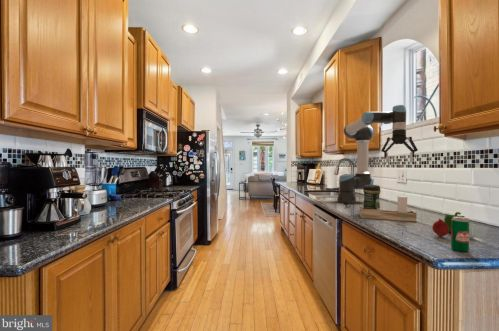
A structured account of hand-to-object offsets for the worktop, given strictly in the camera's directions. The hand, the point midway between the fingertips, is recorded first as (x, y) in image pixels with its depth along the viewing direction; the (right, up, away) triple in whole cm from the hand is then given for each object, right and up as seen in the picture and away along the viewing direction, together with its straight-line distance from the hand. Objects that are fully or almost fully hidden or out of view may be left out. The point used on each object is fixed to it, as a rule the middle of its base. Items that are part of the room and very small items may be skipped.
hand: (398, 162), depth 160 cm
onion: (-13, -33, -53) cm, 63 cm away
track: (-16, -33, -15) cm, 39 cm away
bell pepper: (-2, -33, -46) cm, 57 cm away
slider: (-8, -30, -17) cm, 36 cm away
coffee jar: (-18, -33, -1) cm, 38 cm away
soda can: (-19, -33, -69) cm, 79 cm away
